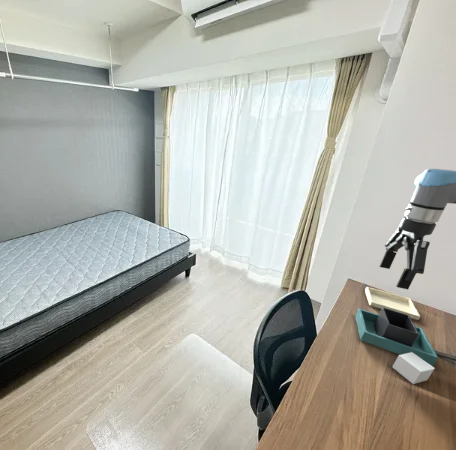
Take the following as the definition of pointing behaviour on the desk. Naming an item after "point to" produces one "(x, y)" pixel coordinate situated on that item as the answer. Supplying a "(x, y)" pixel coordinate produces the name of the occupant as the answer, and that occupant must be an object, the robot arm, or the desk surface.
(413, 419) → the desk surface
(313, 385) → the desk surface
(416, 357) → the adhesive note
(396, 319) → the small bin
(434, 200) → the robot arm
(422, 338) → the tray
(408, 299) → the tray
